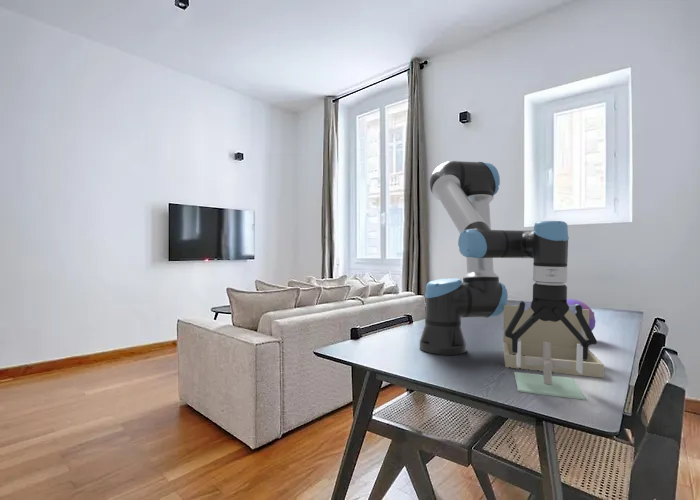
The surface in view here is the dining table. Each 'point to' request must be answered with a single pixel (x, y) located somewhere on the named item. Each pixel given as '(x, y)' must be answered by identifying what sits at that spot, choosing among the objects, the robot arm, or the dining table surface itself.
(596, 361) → the case
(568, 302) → the decorative ball
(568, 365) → the pipe connector
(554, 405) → the dining table surface
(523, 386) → the mat
